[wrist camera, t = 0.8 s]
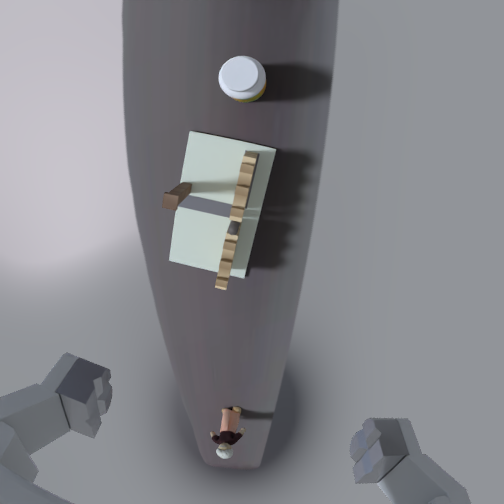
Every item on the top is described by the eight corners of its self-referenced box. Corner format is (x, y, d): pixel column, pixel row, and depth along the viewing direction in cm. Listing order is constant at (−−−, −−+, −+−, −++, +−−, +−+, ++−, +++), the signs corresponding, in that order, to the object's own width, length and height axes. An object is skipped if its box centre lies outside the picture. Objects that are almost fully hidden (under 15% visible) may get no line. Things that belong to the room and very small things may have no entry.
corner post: (181, 180, 43) (163, 193, 36) (193, 182, 43) (178, 196, 36) (179, 192, 44) (162, 207, 37) (191, 194, 44) (176, 210, 37)
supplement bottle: (244, 110, 40) (238, 107, 31) (217, 83, 38) (203, 73, 29) (274, 85, 38) (276, 75, 29) (247, 58, 37) (241, 41, 28)
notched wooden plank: (231, 218, 45) (225, 235, 39) (242, 220, 45) (237, 238, 39) (221, 267, 48) (214, 290, 42) (230, 270, 48) (225, 293, 42)
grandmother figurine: (240, 402, 62) (235, 450, 50) (249, 411, 63) (245, 459, 52) (210, 410, 64) (201, 456, 52) (219, 419, 65) (212, 464, 53)
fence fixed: (247, 150, 41) (242, 156, 35) (258, 153, 41) (255, 159, 35) (232, 215, 45) (225, 233, 38) (242, 218, 45) (237, 236, 38)
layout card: (191, 131, 41) (189, 131, 40) (276, 149, 42) (276, 149, 41) (170, 259, 49) (169, 260, 48) (244, 276, 50) (244, 278, 49)
